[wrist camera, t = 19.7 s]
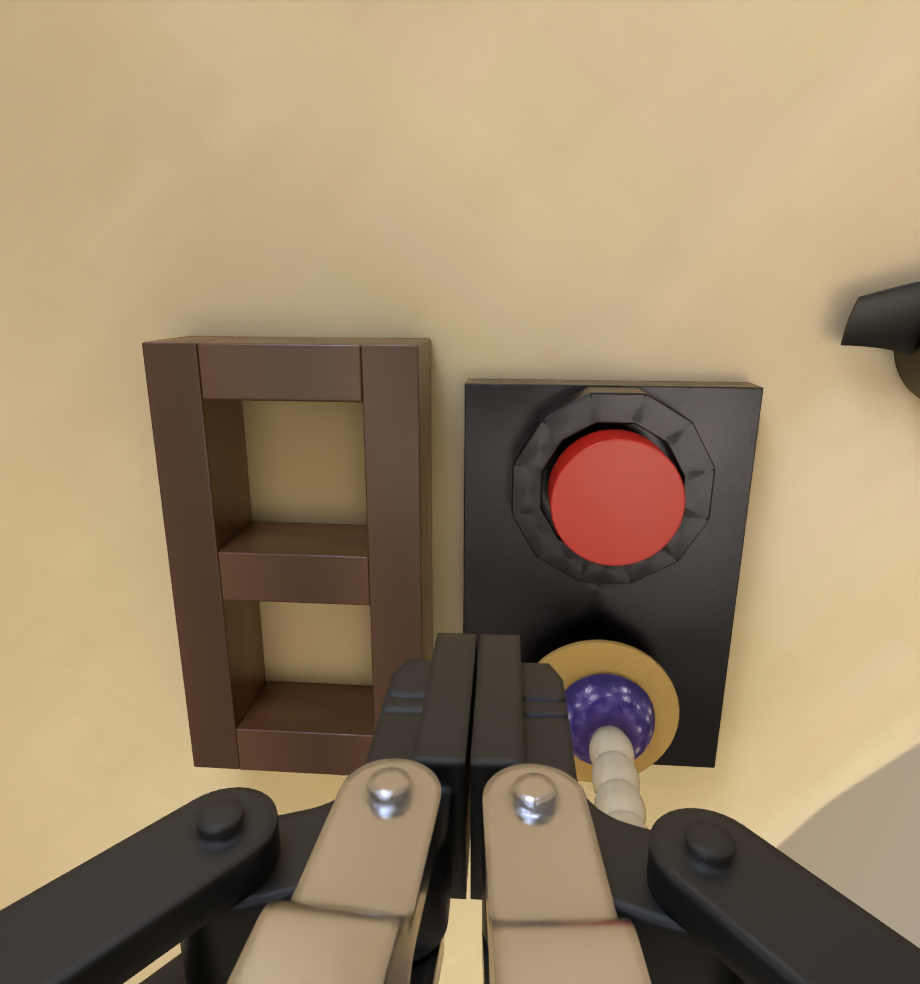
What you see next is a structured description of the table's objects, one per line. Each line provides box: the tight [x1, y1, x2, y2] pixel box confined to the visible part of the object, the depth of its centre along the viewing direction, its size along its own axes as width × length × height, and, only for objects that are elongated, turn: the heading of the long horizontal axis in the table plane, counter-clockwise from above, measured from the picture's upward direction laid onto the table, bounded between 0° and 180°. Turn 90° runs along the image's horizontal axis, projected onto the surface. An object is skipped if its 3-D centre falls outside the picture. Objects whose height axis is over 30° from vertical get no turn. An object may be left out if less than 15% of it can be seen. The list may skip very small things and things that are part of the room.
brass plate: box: [538, 640, 679, 782], centre depth 30 cm, size 7×7×1 cm
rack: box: [142, 336, 433, 775], centre depth 31 cm, size 11×19×4 cm, turn 0°
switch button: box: [548, 429, 685, 566], centre depth 27 cm, size 5×5×2 cm
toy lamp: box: [565, 673, 655, 829], centre depth 22 cm, size 5×5×17 cm
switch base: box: [463, 379, 763, 768], centre depth 30 cm, size 18×12×4 cm, turn 179°
